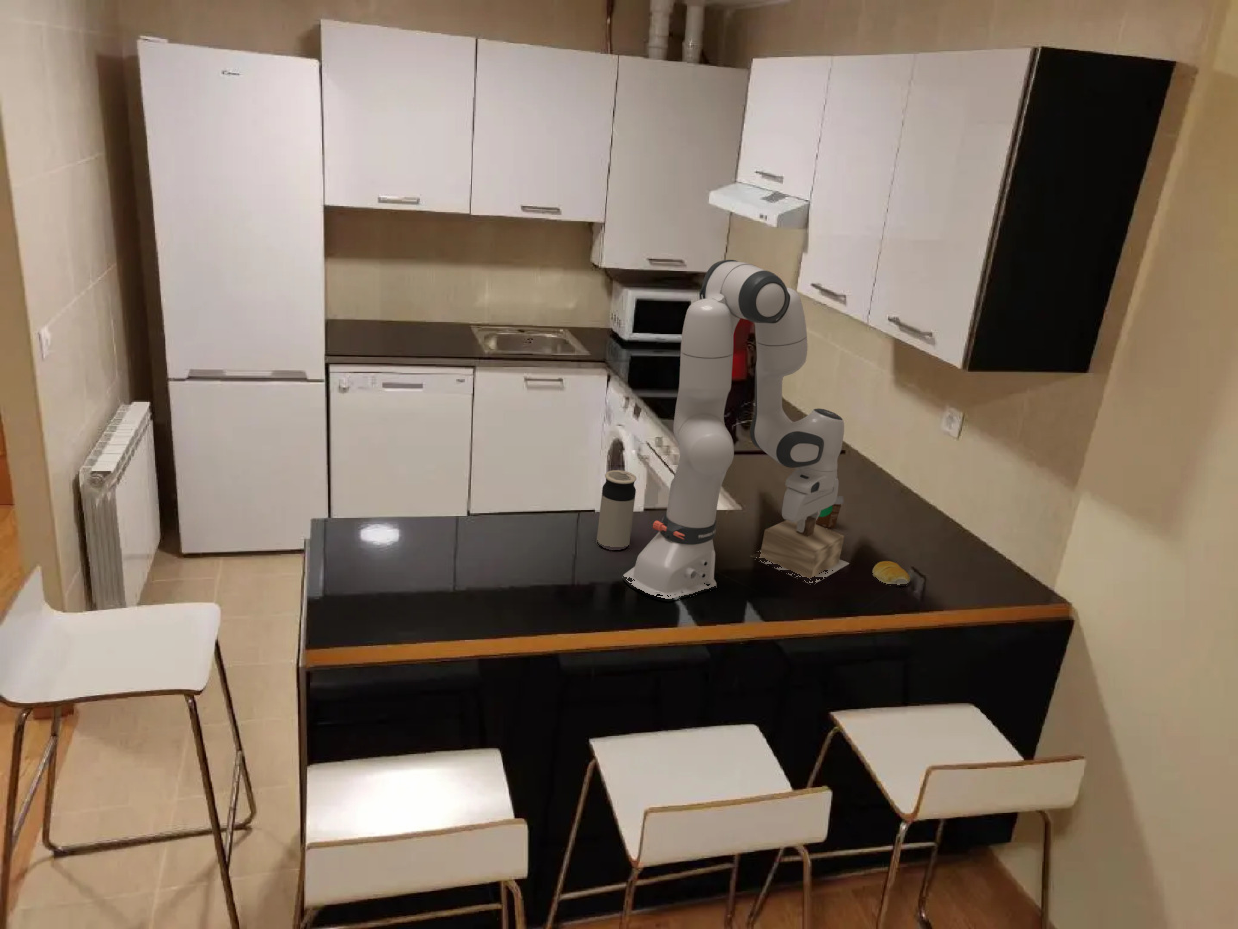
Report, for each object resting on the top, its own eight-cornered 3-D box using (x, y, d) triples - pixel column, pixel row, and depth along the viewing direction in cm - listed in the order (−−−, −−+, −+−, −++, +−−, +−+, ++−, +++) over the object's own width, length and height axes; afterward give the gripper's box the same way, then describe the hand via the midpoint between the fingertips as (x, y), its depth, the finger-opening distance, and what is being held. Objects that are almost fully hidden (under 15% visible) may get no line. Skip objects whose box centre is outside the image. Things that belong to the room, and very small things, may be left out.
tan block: (809, 579, 217) (818, 535, 213) (759, 556, 225) (767, 514, 221) (838, 562, 227) (847, 521, 223) (790, 541, 235) (797, 501, 231)
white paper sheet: (812, 586, 214) (812, 584, 214) (748, 557, 225) (748, 556, 225) (849, 565, 227) (849, 563, 227) (787, 538, 238) (787, 537, 238)
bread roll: (894, 570, 228) (898, 556, 227) (913, 588, 220) (917, 573, 219) (864, 570, 226) (868, 556, 225) (882, 588, 218) (885, 573, 217)
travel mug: (610, 554, 219) (618, 484, 212) (589, 541, 224) (597, 472, 218) (635, 547, 224) (644, 479, 217) (615, 534, 229) (623, 467, 223)
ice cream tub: (793, 513, 254) (800, 480, 251) (812, 512, 257) (819, 479, 253) (817, 532, 244) (824, 498, 240) (837, 531, 246) (844, 497, 242)
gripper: (826, 463, 228) (815, 514, 232) (782, 480, 213) (772, 534, 218) (849, 471, 224) (838, 522, 229) (805, 489, 209) (794, 544, 214)
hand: (805, 528), depth 223 cm, fingers closed on tan block, 3 cm apart
